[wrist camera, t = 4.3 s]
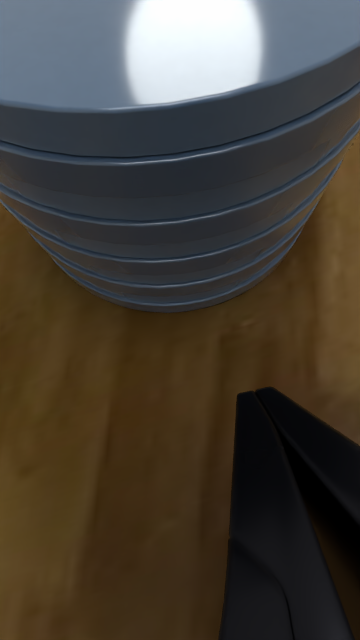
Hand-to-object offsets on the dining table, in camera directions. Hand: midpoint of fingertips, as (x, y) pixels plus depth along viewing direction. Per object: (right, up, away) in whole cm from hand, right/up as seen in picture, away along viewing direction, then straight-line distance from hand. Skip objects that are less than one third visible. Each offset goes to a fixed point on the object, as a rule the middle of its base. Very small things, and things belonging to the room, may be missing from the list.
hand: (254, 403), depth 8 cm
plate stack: (-2, +10, +12) cm, 16 cm away
